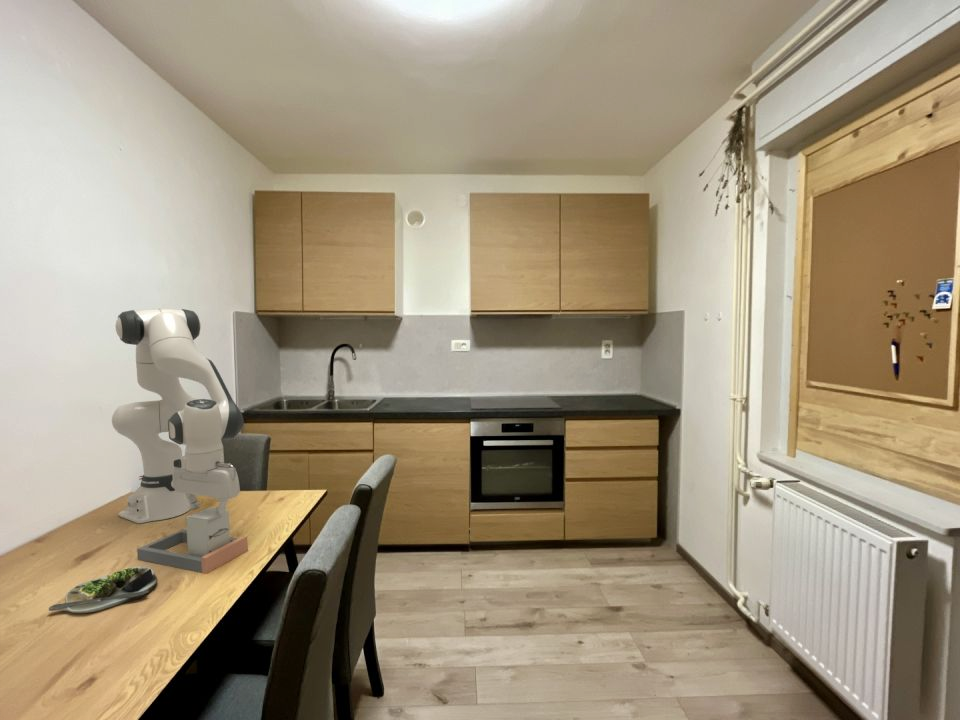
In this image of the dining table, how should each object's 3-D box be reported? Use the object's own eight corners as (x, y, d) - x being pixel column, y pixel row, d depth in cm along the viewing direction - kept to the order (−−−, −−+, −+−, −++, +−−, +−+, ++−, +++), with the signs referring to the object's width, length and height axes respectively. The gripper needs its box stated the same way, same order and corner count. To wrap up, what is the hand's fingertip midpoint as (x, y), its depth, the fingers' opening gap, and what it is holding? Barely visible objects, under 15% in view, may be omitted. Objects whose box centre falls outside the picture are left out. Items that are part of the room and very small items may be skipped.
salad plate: (48, 634, 94) (47, 612, 93) (49, 598, 107) (47, 579, 106) (162, 595, 107) (161, 576, 107) (150, 568, 120) (149, 551, 120)
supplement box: (207, 566, 119) (205, 519, 119) (187, 562, 122) (184, 516, 121) (232, 554, 126) (229, 509, 126) (212, 550, 129) (209, 506, 128)
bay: (137, 559, 124) (136, 545, 124) (183, 539, 136) (182, 526, 136) (206, 573, 116) (205, 558, 116) (248, 550, 128) (247, 536, 128)
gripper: (244, 460, 122) (246, 510, 123) (188, 454, 129) (191, 502, 130) (224, 467, 116) (227, 520, 117) (166, 460, 123) (169, 510, 124)
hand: (207, 510), depth 124 cm, fingers open, 8 cm apart
